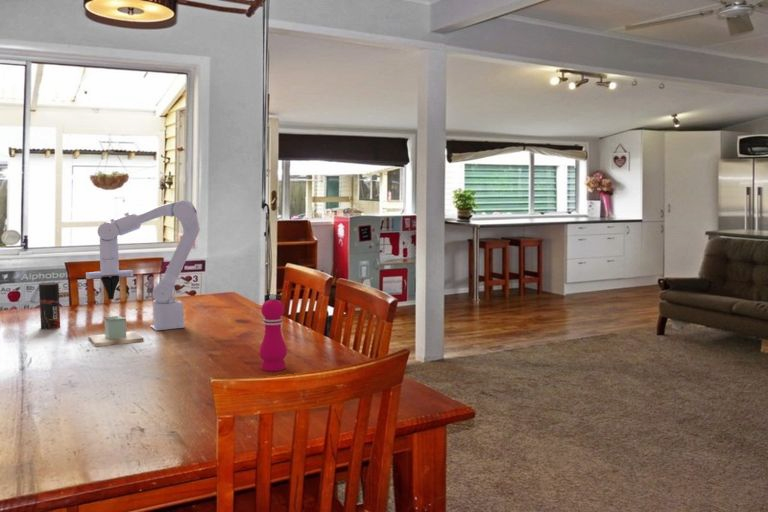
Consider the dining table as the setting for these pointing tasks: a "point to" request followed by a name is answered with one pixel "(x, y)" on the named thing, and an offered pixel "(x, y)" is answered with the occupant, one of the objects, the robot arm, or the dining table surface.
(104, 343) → the board
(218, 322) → the dining table surface
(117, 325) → the mint green grooved cube
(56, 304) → the deodorant
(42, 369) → the dining table surface
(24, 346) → the dining table surface
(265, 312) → the pepper mill
